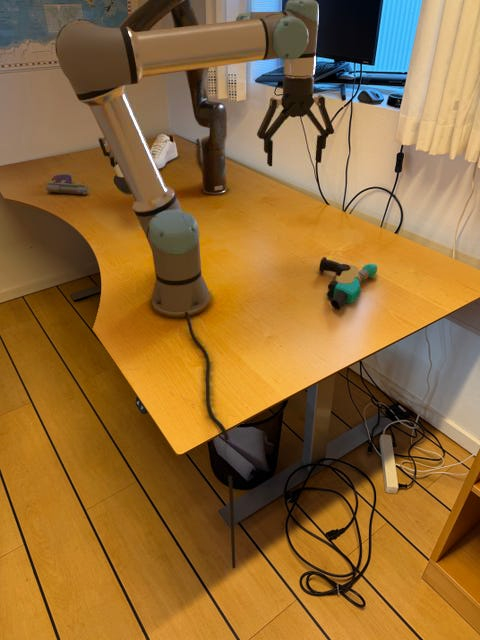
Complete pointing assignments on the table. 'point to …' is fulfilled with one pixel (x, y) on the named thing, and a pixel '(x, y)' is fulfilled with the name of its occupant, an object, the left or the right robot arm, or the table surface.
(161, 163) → the sneaker
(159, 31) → the left robot arm
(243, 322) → the table surface
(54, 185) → the toy gun
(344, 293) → the toy gun
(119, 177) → the ballet flat
